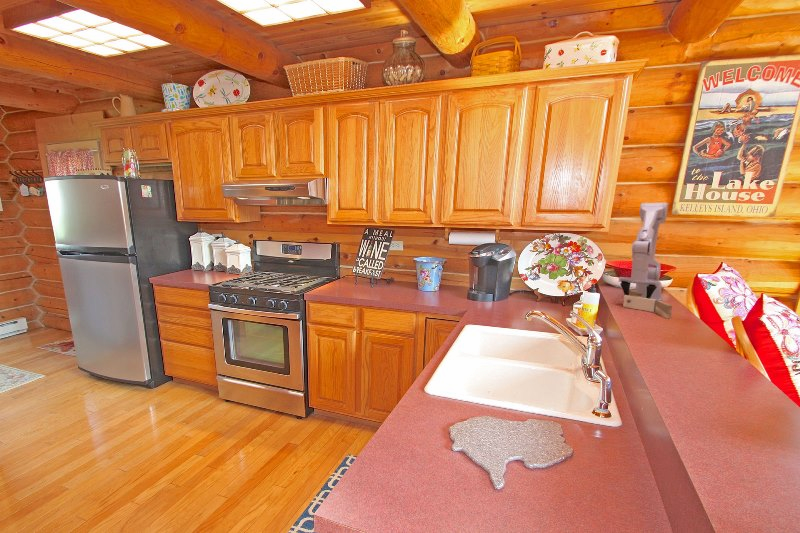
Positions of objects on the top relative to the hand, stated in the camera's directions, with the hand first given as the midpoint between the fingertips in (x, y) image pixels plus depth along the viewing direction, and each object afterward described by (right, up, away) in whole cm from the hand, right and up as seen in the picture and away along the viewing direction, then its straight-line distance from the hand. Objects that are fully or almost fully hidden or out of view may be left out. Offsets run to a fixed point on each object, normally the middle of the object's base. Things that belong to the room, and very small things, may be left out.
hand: (636, 300), depth 150 cm
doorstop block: (0, -3, 0) cm, 3 cm away
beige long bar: (+3, -3, -2) cm, 5 cm away
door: (-2, -3, -4) cm, 6 cm away
